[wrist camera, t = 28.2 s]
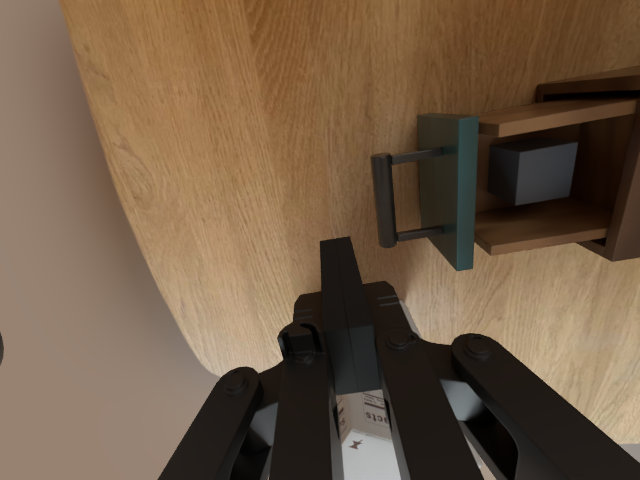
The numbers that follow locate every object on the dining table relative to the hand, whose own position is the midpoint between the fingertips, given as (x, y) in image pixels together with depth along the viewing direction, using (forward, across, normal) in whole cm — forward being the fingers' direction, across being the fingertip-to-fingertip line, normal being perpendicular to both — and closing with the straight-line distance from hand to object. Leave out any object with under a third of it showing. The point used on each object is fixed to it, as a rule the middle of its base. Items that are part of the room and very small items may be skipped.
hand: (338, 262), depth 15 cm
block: (+12, +16, 0) cm, 20 cm away
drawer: (+13, +13, 0) cm, 18 cm away
